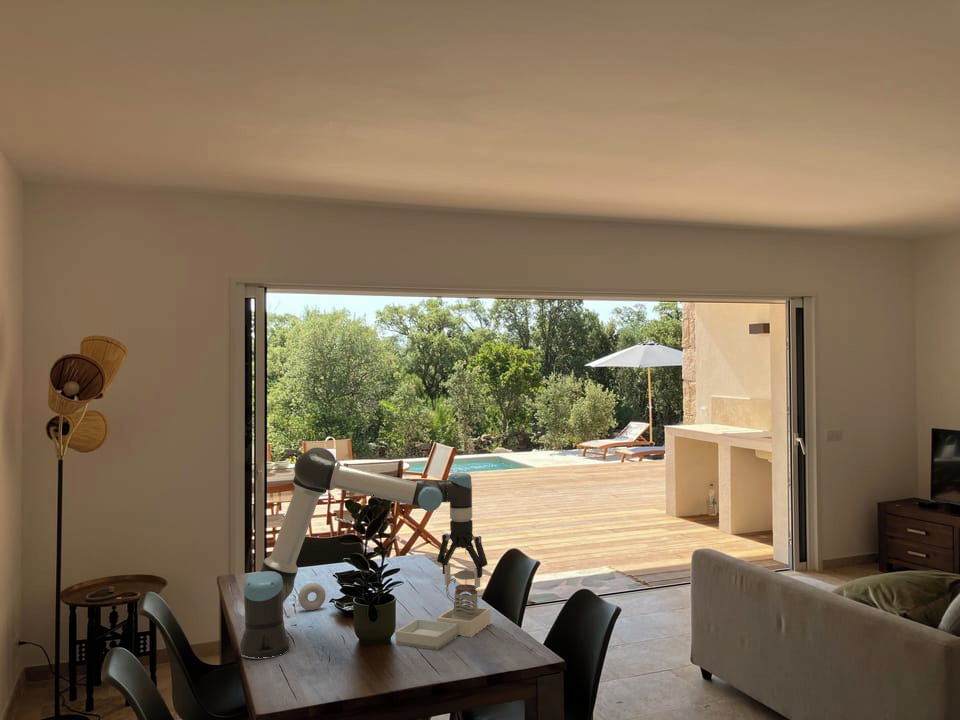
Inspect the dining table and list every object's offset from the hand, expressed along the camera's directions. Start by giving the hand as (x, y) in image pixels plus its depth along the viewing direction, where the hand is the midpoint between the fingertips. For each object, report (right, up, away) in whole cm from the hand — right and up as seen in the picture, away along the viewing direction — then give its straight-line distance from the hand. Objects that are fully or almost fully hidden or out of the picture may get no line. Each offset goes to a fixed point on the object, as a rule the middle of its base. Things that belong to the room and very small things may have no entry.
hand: (462, 585), depth 256 cm
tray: (-11, -14, -11) cm, 21 cm away
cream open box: (+1, -14, 0) cm, 14 cm away
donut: (-56, -17, +25) cm, 64 cm away
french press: (0, -10, 0) cm, 10 cm away
